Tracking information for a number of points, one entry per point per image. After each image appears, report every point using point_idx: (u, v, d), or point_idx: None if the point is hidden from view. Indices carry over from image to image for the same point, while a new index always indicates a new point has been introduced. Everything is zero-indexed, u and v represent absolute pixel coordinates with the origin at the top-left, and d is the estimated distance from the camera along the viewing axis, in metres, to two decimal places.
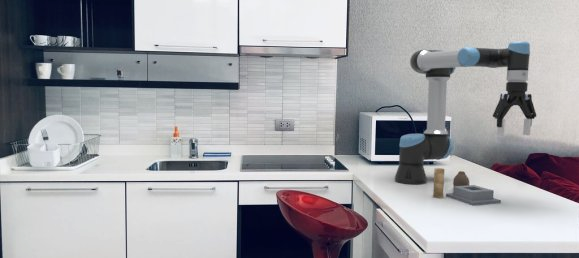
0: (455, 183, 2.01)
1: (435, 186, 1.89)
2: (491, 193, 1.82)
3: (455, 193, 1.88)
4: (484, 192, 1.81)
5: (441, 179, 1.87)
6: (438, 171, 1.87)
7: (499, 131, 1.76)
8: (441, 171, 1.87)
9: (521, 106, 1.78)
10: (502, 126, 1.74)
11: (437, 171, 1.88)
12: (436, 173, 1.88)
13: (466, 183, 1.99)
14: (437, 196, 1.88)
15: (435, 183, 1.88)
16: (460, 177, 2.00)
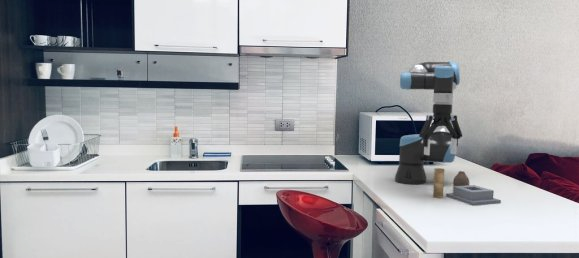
0: (455, 183, 2.01)
1: (435, 186, 1.89)
2: (491, 193, 1.82)
3: (455, 193, 1.88)
4: (484, 192, 1.81)
5: (441, 179, 1.87)
6: (438, 171, 1.87)
7: (425, 150, 1.86)
8: (441, 171, 1.87)
9: (447, 127, 1.89)
10: (427, 146, 1.84)
11: (437, 171, 1.88)
12: (436, 173, 1.88)
13: (466, 183, 1.99)
14: (437, 196, 1.88)
15: (435, 183, 1.88)
16: (460, 177, 2.00)
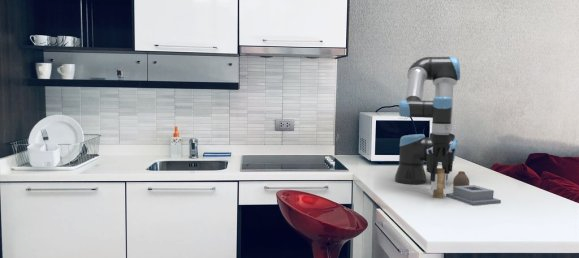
0: (455, 183, 2.01)
1: None
2: (491, 193, 1.82)
3: (455, 193, 1.88)
4: (484, 192, 1.81)
5: (441, 179, 1.87)
6: (438, 171, 1.87)
7: (433, 185, 1.89)
8: (441, 171, 1.87)
9: (442, 157, 1.89)
10: (435, 180, 1.87)
11: (437, 171, 1.88)
12: (436, 173, 1.88)
13: (466, 183, 1.99)
14: (437, 196, 1.88)
15: None
16: (460, 177, 2.00)
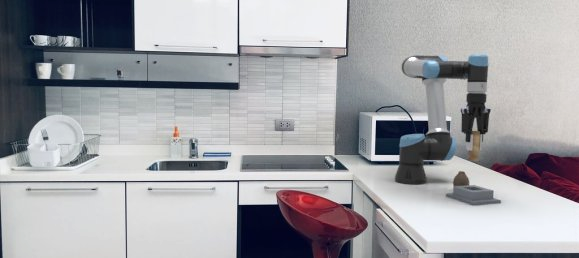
0: (455, 183, 2.01)
1: None
2: (491, 193, 1.82)
3: (455, 193, 1.88)
4: (484, 192, 1.81)
5: (477, 141, 1.82)
6: (474, 133, 1.82)
7: (468, 146, 1.84)
8: (477, 133, 1.82)
9: (477, 118, 1.84)
10: (470, 141, 1.82)
11: (472, 133, 1.82)
12: None
13: (466, 183, 1.99)
14: (472, 159, 1.83)
15: None
16: (460, 177, 2.00)
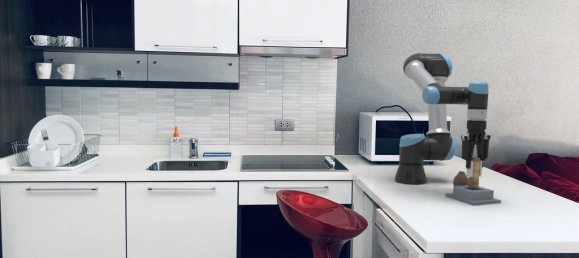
0: (455, 183, 2.01)
1: None
2: (491, 193, 1.82)
3: (455, 193, 1.88)
4: (484, 192, 1.81)
5: (477, 168, 1.83)
6: (474, 160, 1.83)
7: (468, 172, 1.84)
8: (477, 160, 1.83)
9: (478, 144, 1.85)
10: (471, 168, 1.83)
11: (473, 160, 1.83)
12: None
13: (466, 183, 1.99)
14: (473, 185, 1.84)
15: None
16: (460, 177, 2.00)
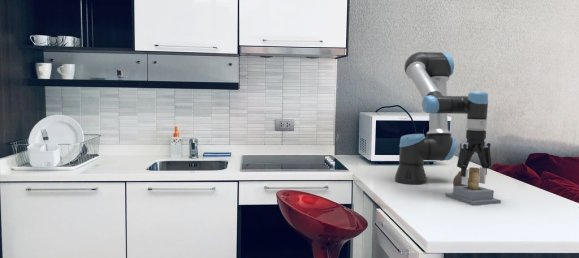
0: (455, 183, 2.01)
1: (470, 186, 1.85)
2: (491, 193, 1.82)
3: (455, 193, 1.88)
4: (484, 192, 1.81)
5: (476, 178, 1.84)
6: (473, 170, 1.83)
7: (463, 180, 1.84)
8: (476, 170, 1.83)
9: (479, 153, 1.86)
10: (466, 176, 1.83)
11: (472, 170, 1.84)
12: (471, 172, 1.84)
13: None
14: None
15: (470, 182, 1.85)
16: (460, 177, 2.00)
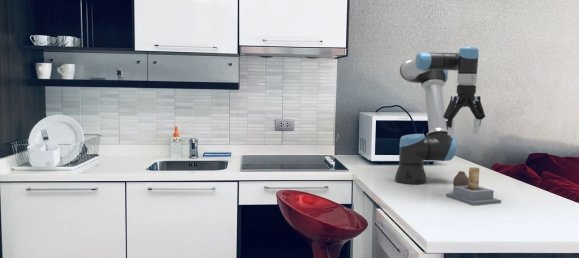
0: (455, 183, 2.01)
1: (470, 186, 1.85)
2: (491, 193, 1.82)
3: (455, 193, 1.88)
4: (484, 192, 1.81)
5: (476, 178, 1.84)
6: (473, 170, 1.83)
7: (449, 131, 1.87)
8: (476, 170, 1.83)
9: (471, 107, 1.90)
10: (452, 126, 1.86)
11: (472, 170, 1.84)
12: (471, 172, 1.84)
13: (466, 183, 1.99)
14: None
15: (470, 183, 1.85)
16: (460, 177, 2.00)
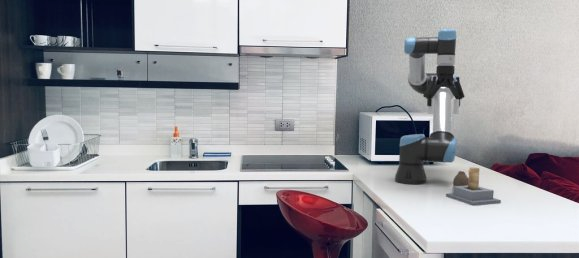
0: (455, 183, 2.01)
1: (470, 186, 1.85)
2: (491, 193, 1.82)
3: (455, 193, 1.88)
4: (484, 192, 1.81)
5: (476, 178, 1.84)
6: (473, 170, 1.83)
7: (429, 110, 1.96)
8: (476, 170, 1.83)
9: (450, 87, 1.98)
10: (431, 105, 1.94)
11: (472, 170, 1.84)
12: (471, 172, 1.84)
13: (466, 183, 1.99)
14: None
15: (470, 183, 1.85)
16: (460, 177, 2.00)
